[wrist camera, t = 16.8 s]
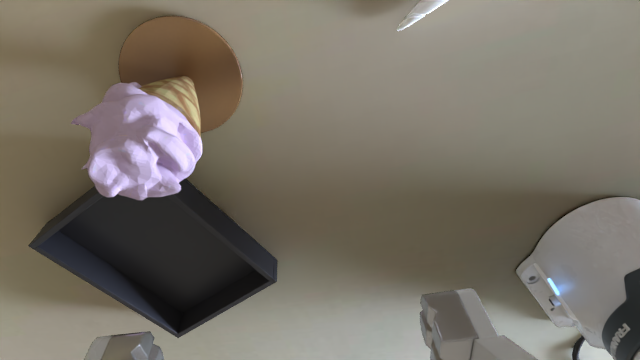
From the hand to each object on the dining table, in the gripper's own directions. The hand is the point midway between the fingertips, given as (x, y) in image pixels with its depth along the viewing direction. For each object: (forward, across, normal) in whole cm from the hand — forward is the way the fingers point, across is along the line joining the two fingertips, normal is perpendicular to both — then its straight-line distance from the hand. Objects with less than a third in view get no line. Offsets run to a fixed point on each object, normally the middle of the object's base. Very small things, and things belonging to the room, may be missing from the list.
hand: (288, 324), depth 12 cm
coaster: (+26, +9, 0) cm, 27 cm away
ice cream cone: (+25, +9, 0) cm, 27 cm away
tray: (+26, +16, +17) cm, 35 cm away
